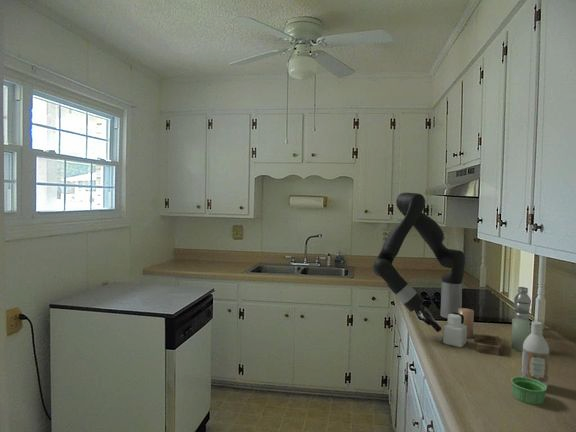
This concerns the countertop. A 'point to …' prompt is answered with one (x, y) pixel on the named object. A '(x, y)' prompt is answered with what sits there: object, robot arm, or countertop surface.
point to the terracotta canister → (468, 320)
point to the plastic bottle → (522, 303)
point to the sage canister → (519, 333)
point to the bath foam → (535, 355)
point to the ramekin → (528, 390)
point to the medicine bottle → (455, 330)
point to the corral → (489, 348)
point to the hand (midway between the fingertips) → (439, 330)
